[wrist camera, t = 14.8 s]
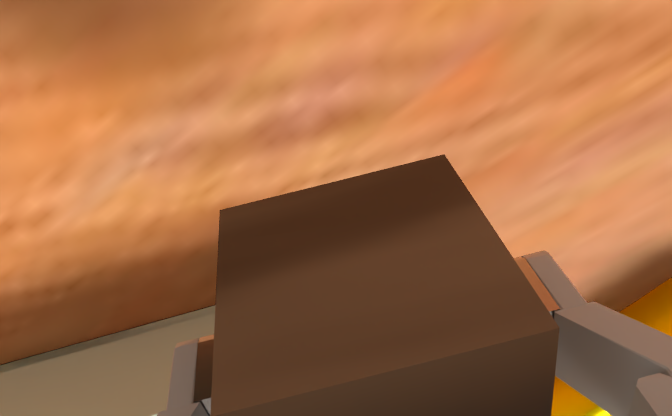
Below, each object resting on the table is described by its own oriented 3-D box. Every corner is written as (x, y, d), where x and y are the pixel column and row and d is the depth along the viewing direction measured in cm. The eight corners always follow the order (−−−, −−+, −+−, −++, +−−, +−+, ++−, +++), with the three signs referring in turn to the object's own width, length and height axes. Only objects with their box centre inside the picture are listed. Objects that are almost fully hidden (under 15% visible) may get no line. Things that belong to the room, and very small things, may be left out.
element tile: (771, 365, 35) (840, 428, 31) (581, 476, 39) (620, 545, 35) (700, 249, 28) (778, 313, 24) (473, 401, 32) (508, 477, 28)
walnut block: (219, 210, 11) (209, 416, 7) (444, 154, 11) (559, 327, 7) (278, 354, 14) (294, 559, 10) (456, 309, 14) (543, 494, 10)
